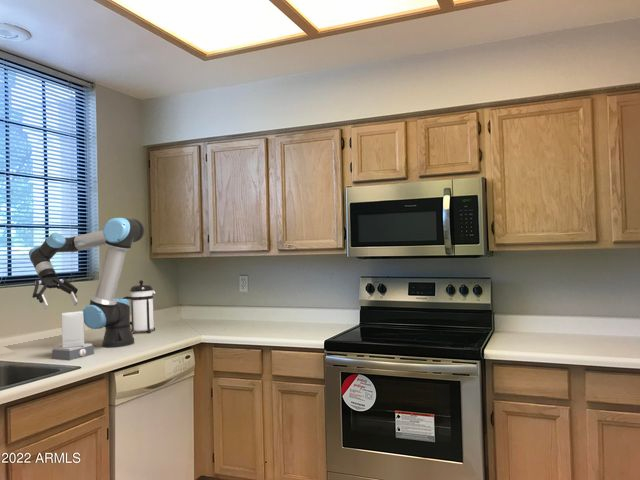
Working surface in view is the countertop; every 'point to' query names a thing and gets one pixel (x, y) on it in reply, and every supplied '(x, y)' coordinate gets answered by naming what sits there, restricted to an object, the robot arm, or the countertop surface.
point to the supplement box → (72, 329)
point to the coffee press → (141, 307)
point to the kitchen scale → (72, 352)
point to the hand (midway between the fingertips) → (61, 305)
